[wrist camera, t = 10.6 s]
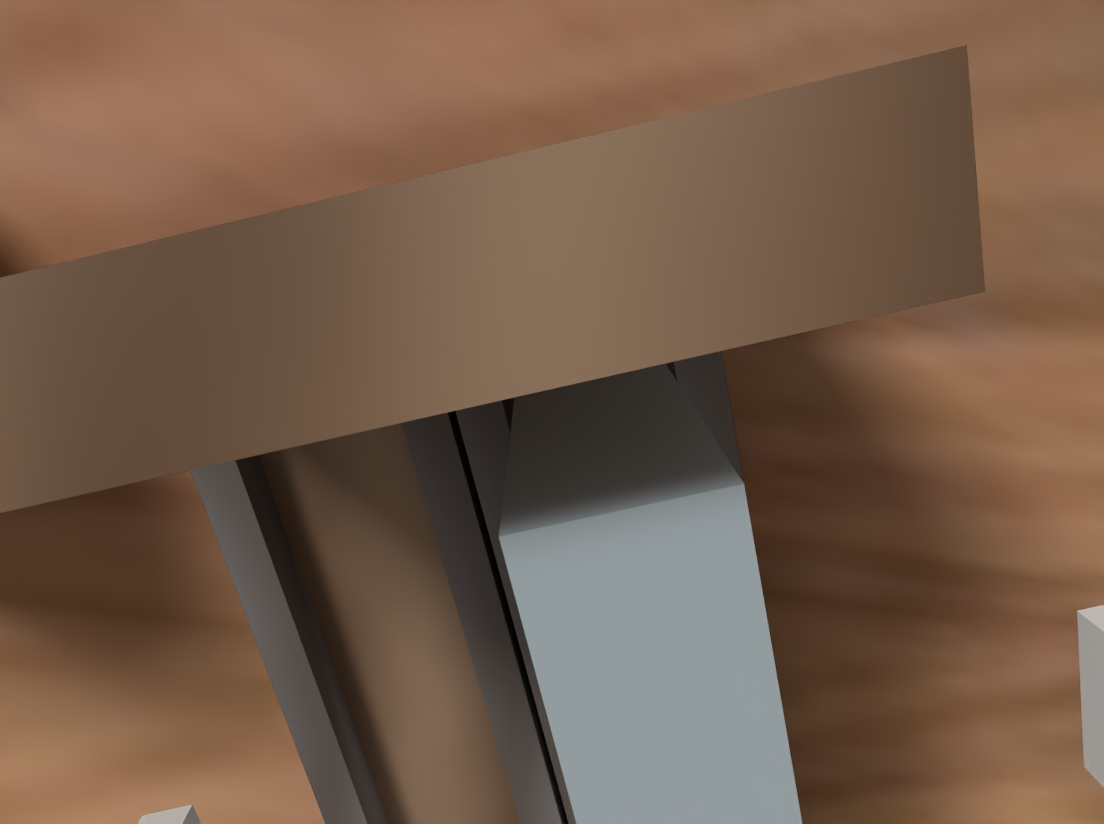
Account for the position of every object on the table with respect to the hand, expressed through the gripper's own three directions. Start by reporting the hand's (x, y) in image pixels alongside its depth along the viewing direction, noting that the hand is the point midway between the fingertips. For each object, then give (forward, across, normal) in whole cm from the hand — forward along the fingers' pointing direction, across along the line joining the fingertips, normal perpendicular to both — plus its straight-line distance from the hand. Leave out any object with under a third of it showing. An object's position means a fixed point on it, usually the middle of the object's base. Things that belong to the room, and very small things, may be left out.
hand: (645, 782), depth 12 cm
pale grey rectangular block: (+11, +1, 0) cm, 11 cm away
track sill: (+12, -3, -3) cm, 13 cm away
